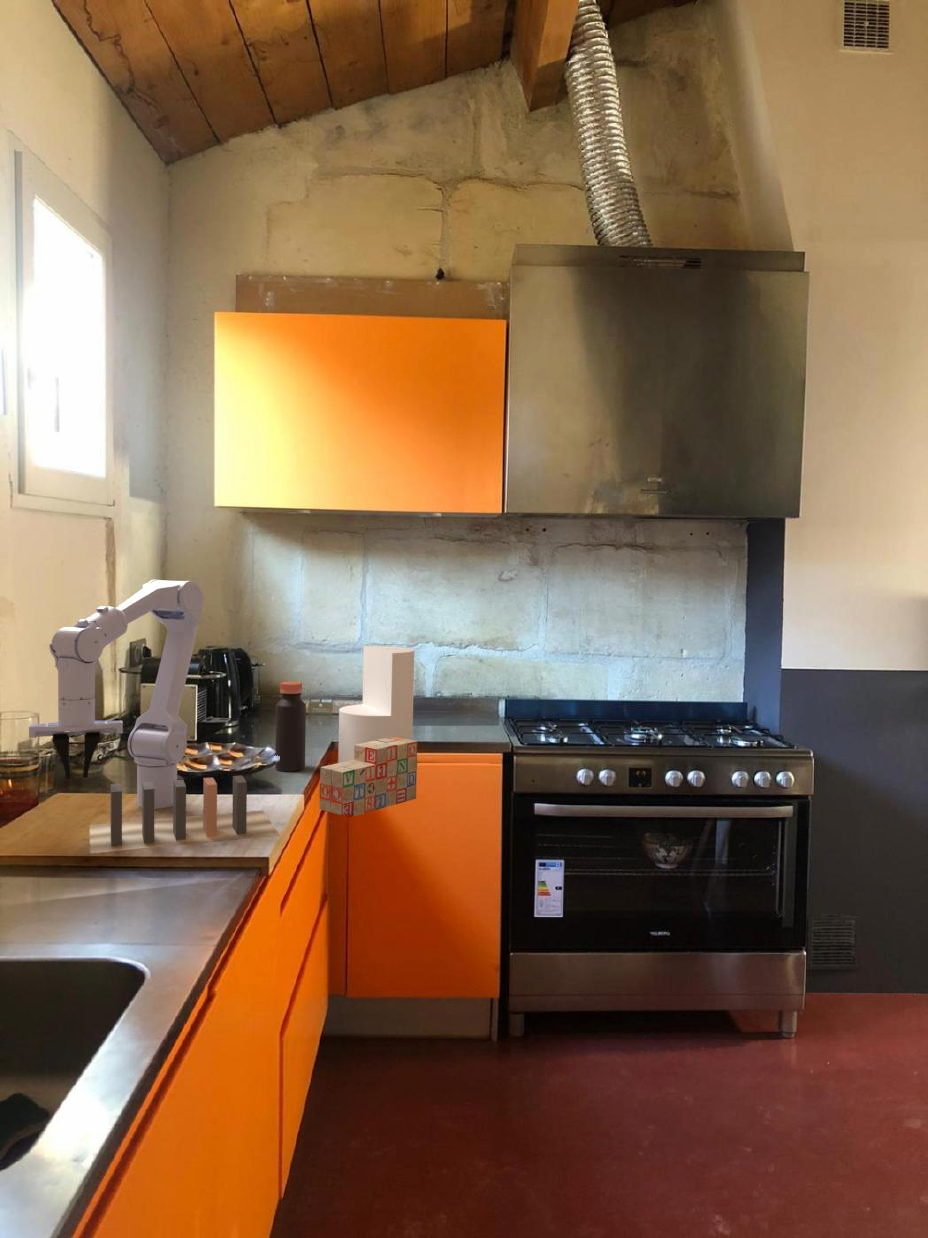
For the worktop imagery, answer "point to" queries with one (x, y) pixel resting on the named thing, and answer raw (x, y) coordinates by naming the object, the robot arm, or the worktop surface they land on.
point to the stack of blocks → (370, 778)
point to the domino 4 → (210, 807)
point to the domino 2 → (148, 812)
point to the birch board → (165, 837)
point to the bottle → (290, 728)
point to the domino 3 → (179, 809)
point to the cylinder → (380, 700)
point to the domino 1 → (116, 815)
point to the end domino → (239, 804)
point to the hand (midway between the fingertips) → (76, 777)
